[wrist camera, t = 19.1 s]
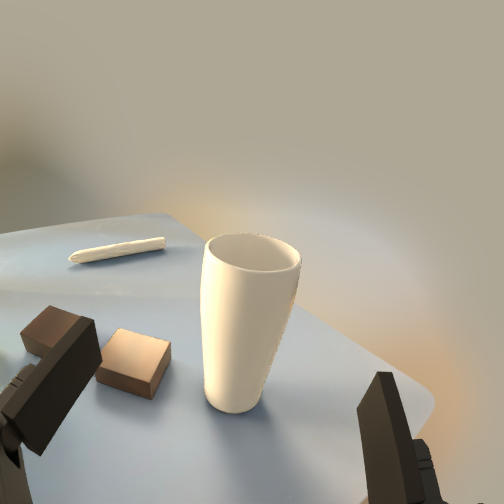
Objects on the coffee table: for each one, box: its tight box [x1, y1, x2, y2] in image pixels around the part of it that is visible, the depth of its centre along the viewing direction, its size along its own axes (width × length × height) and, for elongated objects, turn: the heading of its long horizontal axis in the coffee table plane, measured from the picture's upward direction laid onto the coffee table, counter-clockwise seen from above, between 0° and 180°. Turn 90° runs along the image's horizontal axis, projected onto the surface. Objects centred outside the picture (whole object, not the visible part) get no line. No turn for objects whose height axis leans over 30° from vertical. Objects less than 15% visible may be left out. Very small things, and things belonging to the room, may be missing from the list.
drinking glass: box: [200, 233, 302, 414], centre depth 24 cm, size 7×7×15 cm
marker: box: [69, 237, 166, 263], centre depth 48 cm, size 18×2×2 cm, turn 130°
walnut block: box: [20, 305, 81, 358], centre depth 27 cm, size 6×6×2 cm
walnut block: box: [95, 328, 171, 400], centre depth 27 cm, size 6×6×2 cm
